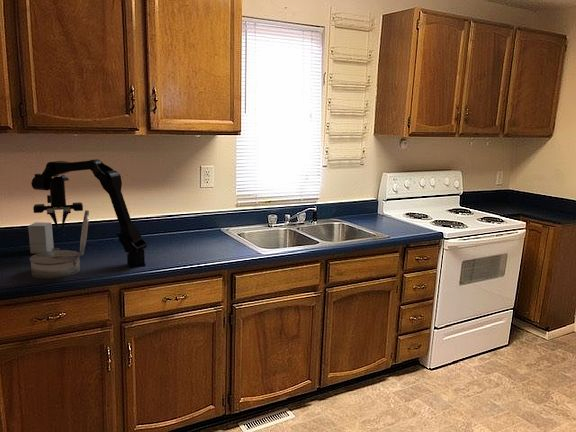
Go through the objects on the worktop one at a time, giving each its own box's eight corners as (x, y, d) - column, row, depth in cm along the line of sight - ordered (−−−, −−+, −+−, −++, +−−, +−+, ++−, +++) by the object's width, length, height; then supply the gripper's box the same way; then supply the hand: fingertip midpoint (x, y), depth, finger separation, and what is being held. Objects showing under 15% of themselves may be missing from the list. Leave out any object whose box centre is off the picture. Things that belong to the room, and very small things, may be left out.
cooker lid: (79, 248, 196) (81, 248, 197) (80, 260, 181) (83, 260, 181) (84, 206, 194) (87, 207, 195) (86, 214, 179) (89, 215, 179)
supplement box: (54, 249, 217) (52, 222, 214) (46, 253, 209) (44, 225, 207) (37, 249, 216) (35, 221, 214) (29, 253, 209) (27, 225, 207)
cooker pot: (79, 258, 204) (78, 244, 203) (81, 275, 182) (80, 260, 181) (33, 262, 197) (32, 247, 196) (29, 281, 175) (28, 264, 173)
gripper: (81, 187, 211) (83, 222, 214) (33, 189, 203) (36, 224, 206) (82, 191, 201) (84, 227, 204) (32, 193, 193) (34, 230, 196)
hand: (60, 227), depth 203 cm, fingers closed
